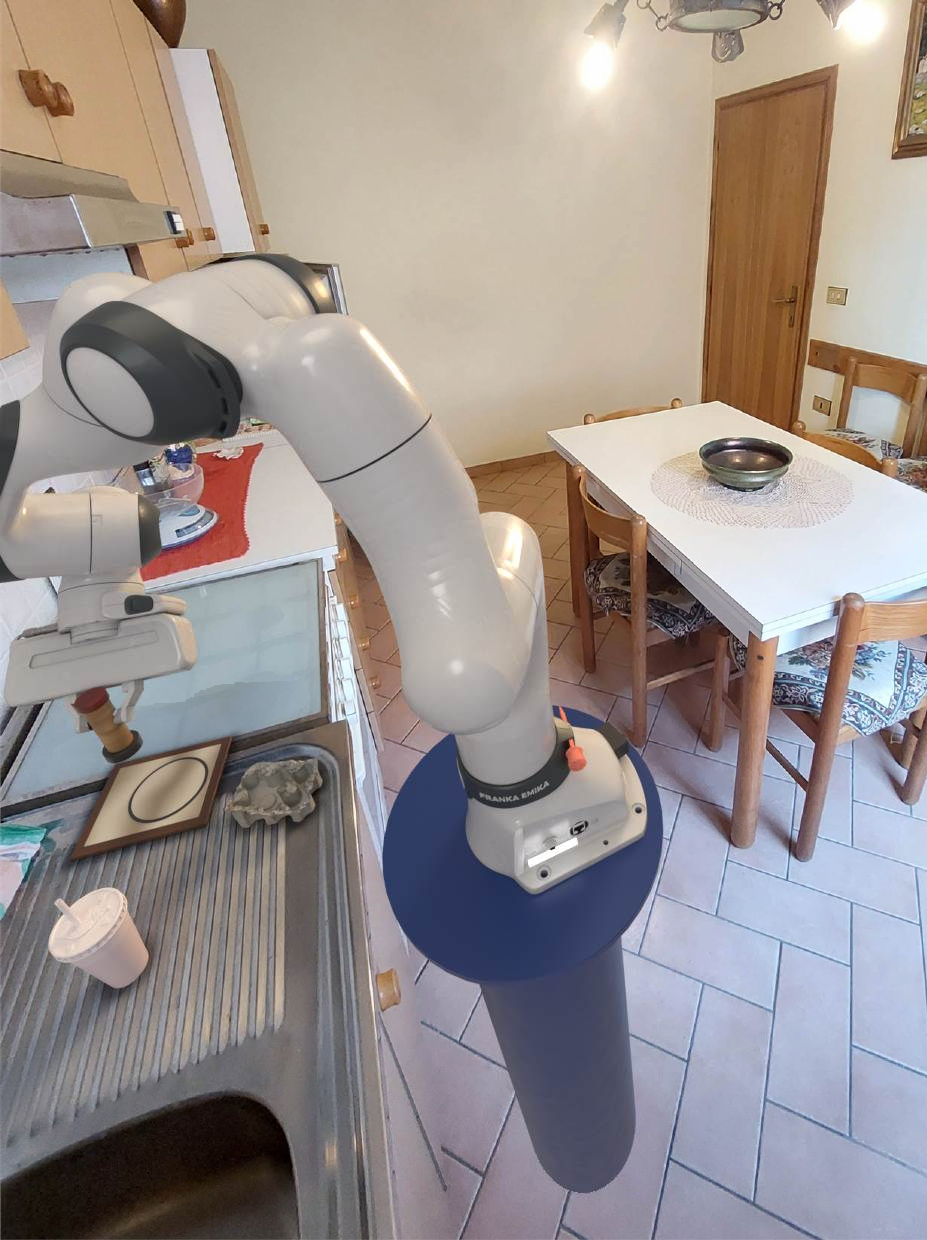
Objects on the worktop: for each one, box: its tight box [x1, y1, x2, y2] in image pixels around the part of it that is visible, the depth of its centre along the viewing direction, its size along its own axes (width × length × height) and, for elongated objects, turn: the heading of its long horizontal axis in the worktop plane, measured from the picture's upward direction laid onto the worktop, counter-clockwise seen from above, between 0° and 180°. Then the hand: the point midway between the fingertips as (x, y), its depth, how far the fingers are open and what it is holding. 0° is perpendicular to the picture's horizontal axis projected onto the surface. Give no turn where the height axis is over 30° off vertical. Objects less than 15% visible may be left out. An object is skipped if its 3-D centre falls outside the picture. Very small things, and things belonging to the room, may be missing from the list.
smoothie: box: [47, 887, 149, 989], centre depth 61 cm, size 6×6×14 cm
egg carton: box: [222, 757, 323, 829], centre depth 79 cm, size 11×8×4 cm
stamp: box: [74, 687, 144, 765], centre depth 73 cm, size 4×4×9 cm
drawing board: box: [69, 735, 234, 862], centre depth 82 cm, size 16×14×1 cm
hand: (105, 727), depth 72 cm, fingers closed on stamp, 3 cm apart
